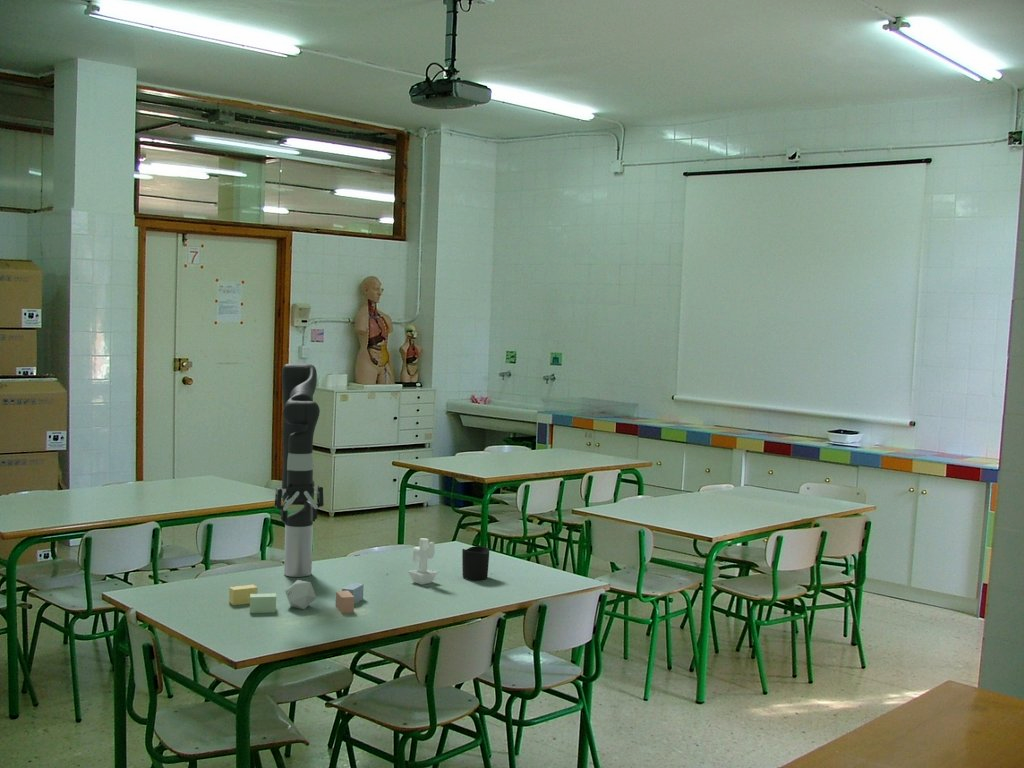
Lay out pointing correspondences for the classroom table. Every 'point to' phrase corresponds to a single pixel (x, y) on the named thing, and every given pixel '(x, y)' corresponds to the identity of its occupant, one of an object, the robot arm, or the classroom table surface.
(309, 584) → the die
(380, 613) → the classroom table surface
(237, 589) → the ochre brick
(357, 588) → the slate brick
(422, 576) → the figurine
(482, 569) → the pen holder
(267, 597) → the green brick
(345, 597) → the terracotta brick
